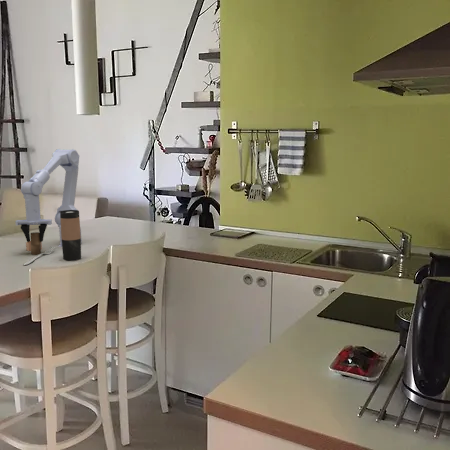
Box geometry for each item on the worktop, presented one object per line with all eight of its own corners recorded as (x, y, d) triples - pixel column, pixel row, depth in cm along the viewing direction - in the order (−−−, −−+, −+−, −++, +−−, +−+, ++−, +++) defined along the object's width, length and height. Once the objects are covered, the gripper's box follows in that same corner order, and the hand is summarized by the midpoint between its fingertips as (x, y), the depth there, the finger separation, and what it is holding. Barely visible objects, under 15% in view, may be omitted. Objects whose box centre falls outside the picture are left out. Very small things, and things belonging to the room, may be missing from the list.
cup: (43, 248, 241) (42, 240, 240) (39, 252, 235) (38, 243, 234) (29, 249, 240) (28, 240, 240) (25, 252, 234) (24, 243, 234)
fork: (20, 265, 212) (20, 260, 211) (49, 250, 235) (49, 246, 235) (27, 265, 211) (27, 260, 211) (56, 250, 235) (56, 246, 234)
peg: (41, 252, 232) (41, 232, 230) (39, 254, 228) (39, 234, 226) (32, 252, 231) (31, 232, 230) (30, 254, 227) (29, 234, 226)
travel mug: (83, 256, 226) (81, 209, 223) (79, 261, 219) (76, 212, 215) (65, 256, 226) (62, 209, 222) (60, 261, 218) (57, 212, 215)
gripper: (12, 211, 221) (14, 243, 224) (48, 211, 222) (50, 243, 225) (17, 209, 228) (19, 240, 231) (52, 208, 229) (54, 239, 232)
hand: (35, 241), depth 228 cm, fingers open, 5 cm apart
